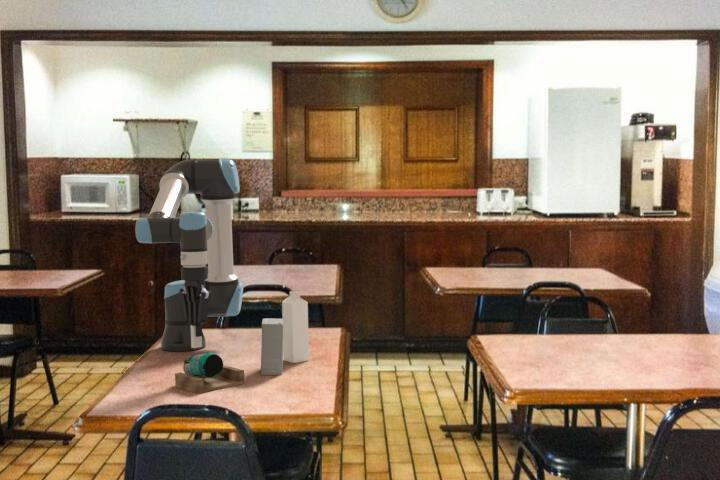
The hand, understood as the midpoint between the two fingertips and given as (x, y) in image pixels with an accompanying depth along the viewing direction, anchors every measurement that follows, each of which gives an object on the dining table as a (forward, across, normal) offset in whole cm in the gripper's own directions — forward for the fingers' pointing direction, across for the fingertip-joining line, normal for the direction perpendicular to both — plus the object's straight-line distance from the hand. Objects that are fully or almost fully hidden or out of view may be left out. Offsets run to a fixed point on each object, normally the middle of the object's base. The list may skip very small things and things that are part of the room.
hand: (196, 347), depth 251 cm
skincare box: (+10, +7, +22) cm, 25 cm away
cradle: (+10, +6, 0) cm, 12 cm away
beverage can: (+6, -2, 0) cm, 7 cm away
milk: (+10, 0, +37) cm, 38 cm away
